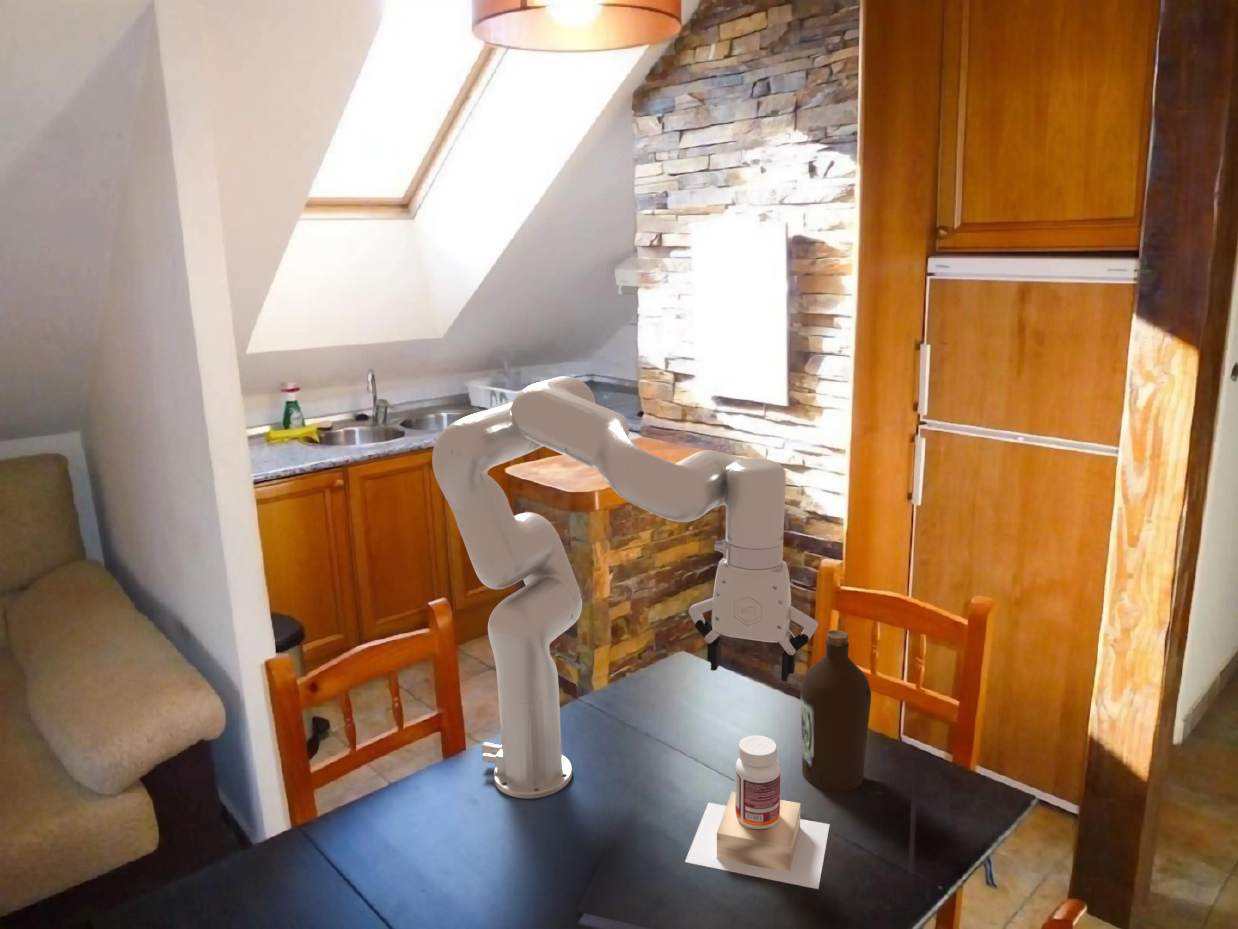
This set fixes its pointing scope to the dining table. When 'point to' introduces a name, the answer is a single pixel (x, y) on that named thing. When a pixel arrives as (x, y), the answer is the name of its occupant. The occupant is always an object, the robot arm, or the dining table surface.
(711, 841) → the white paper sheet
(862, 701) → the olive oil
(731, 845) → the birch riser
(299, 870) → the dining table surface
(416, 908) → the dining table surface
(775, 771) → the pill bottle
